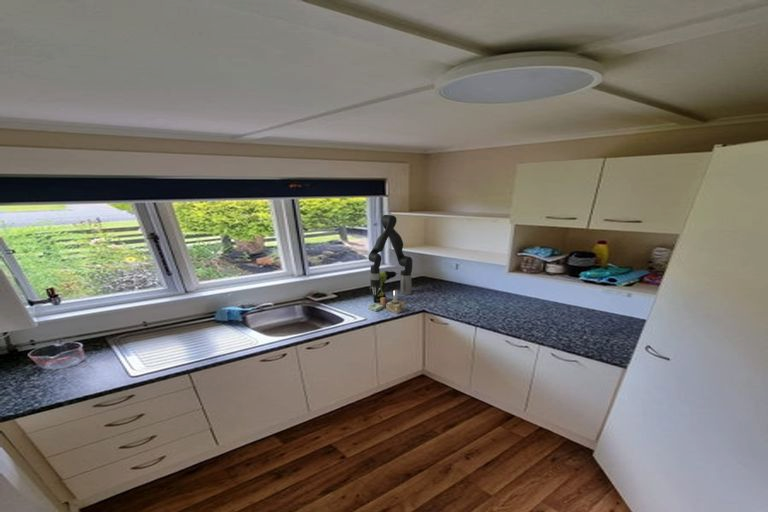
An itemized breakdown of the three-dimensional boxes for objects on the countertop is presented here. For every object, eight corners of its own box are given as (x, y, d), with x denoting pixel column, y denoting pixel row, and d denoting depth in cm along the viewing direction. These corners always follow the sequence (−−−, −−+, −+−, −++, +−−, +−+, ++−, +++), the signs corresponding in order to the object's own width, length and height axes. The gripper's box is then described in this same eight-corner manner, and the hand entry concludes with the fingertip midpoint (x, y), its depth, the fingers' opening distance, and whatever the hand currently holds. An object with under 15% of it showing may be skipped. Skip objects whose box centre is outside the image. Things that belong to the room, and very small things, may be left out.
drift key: (382, 305, 244) (382, 296, 242) (385, 306, 242) (385, 297, 240) (380, 306, 241) (380, 298, 240) (383, 307, 240) (383, 298, 238)
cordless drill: (397, 298, 260) (397, 269, 254) (399, 301, 253) (399, 271, 247) (370, 300, 256) (369, 271, 250) (371, 303, 249) (370, 273, 244)
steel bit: (395, 309, 237) (394, 289, 233) (398, 310, 235) (398, 290, 231) (392, 310, 234) (392, 290, 231) (395, 311, 232) (395, 291, 229)
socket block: (394, 306, 241) (394, 299, 240) (404, 309, 235) (404, 302, 234) (386, 310, 234) (386, 303, 232) (396, 314, 228) (396, 306, 226)
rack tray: (374, 306, 243) (374, 303, 243) (382, 308, 238) (382, 305, 238) (368, 309, 237) (368, 306, 236) (376, 311, 232) (376, 308, 232)
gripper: (384, 278, 240) (385, 299, 244) (371, 275, 248) (372, 296, 252) (378, 280, 234) (379, 302, 238) (365, 277, 242) (366, 298, 246)
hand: (375, 299), depth 245 cm, fingers closed
